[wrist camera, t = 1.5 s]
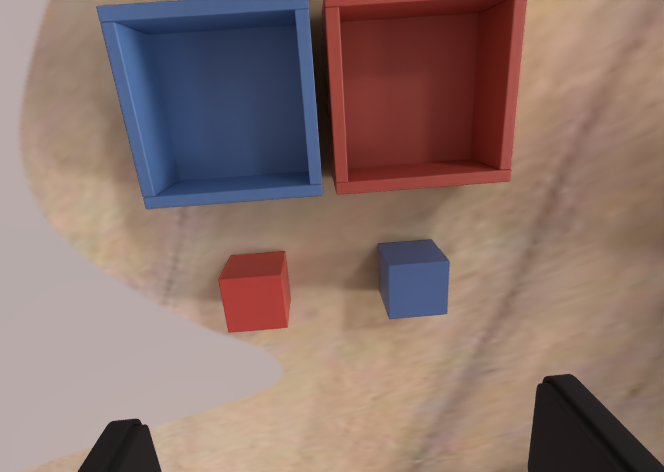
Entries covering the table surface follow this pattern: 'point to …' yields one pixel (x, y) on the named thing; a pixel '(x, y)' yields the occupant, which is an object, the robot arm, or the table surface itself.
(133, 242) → the table surface
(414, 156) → the red bin
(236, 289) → the red block
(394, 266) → the blue block
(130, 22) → the blue bin
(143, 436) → the robot arm
